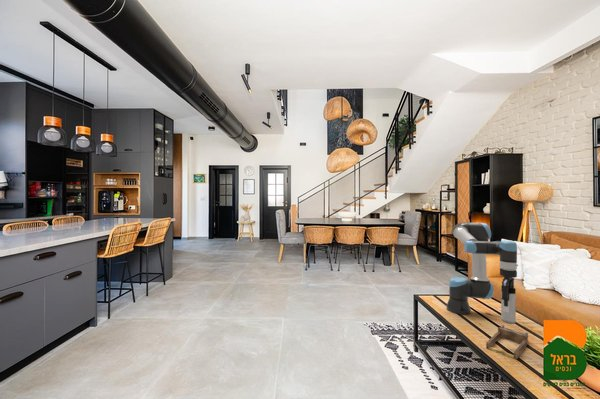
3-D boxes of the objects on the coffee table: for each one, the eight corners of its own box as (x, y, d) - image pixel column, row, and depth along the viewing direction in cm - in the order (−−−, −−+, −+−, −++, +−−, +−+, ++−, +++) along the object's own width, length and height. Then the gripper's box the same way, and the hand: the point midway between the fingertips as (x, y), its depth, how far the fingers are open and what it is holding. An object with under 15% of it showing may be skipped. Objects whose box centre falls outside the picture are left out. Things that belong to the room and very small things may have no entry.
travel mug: (497, 319, 148) (497, 284, 148) (508, 318, 148) (508, 284, 148) (507, 324, 141) (507, 288, 141) (518, 324, 142) (518, 287, 142)
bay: (486, 348, 141) (486, 338, 141) (501, 332, 158) (501, 324, 158) (516, 359, 131) (516, 349, 131) (529, 341, 148) (529, 332, 148)
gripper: (511, 273, 136) (511, 317, 136) (521, 267, 148) (521, 307, 148) (494, 270, 142) (494, 312, 142) (504, 264, 154) (504, 303, 154)
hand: (508, 310), depth 145 cm, fingers closed on travel mug, 6 cm apart
